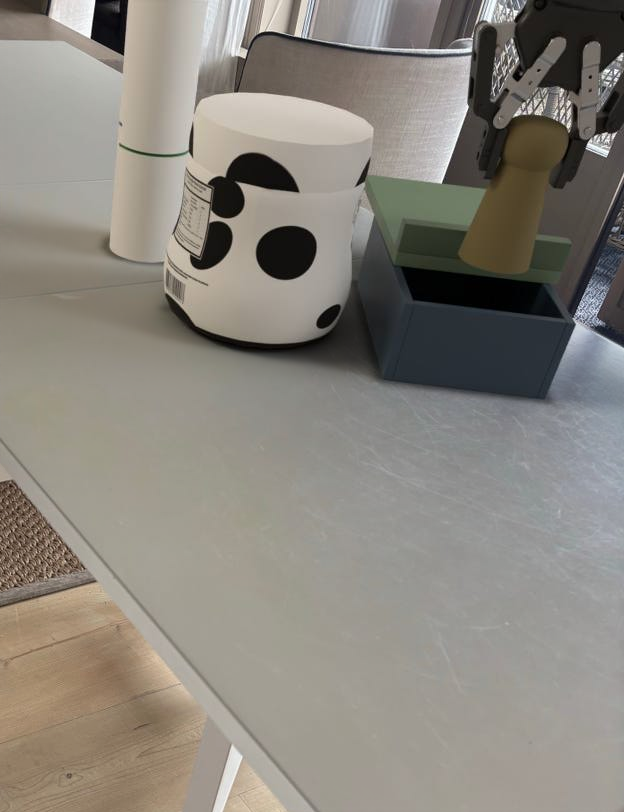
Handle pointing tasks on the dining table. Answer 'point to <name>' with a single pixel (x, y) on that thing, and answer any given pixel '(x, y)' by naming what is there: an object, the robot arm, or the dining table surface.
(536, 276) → the bin lid
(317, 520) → the dining table surface
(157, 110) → the cylindrical container
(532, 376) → the bin
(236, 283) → the milk container
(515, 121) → the brown pawn
